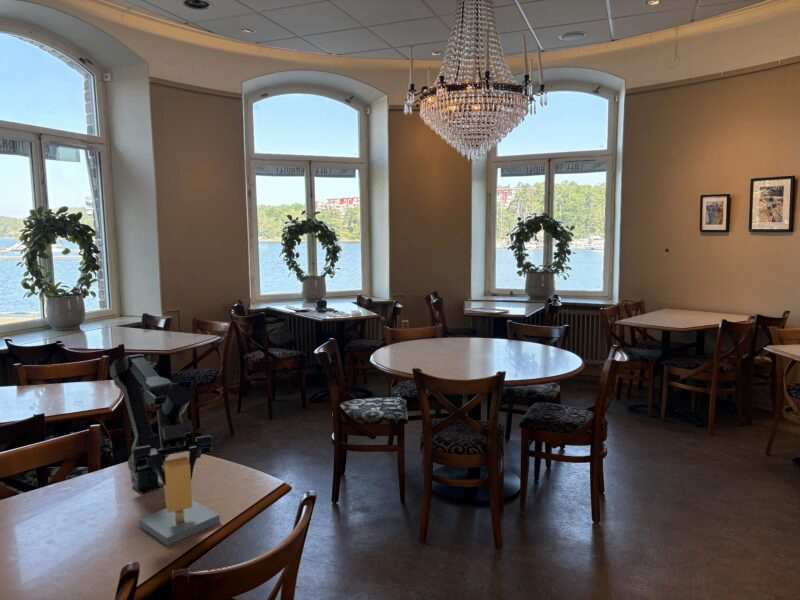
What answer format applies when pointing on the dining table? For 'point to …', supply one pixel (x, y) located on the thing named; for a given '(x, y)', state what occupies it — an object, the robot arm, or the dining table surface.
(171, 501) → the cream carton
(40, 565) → the dining table surface
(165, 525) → the terminal board
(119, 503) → the dining table surface
